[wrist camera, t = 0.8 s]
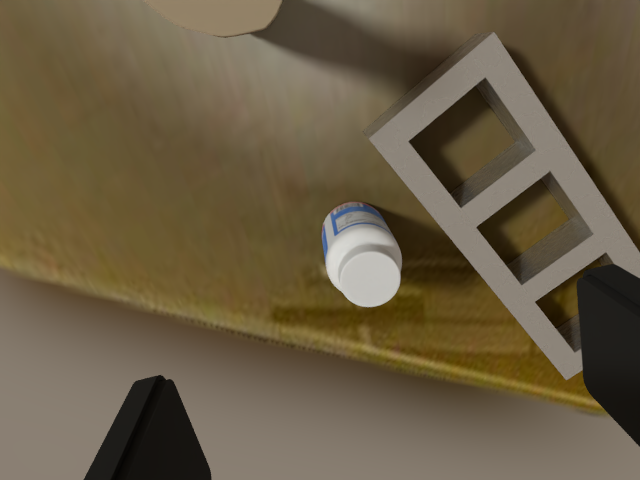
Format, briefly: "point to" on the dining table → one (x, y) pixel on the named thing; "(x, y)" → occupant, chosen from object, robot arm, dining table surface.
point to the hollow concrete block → (508, 190)
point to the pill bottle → (361, 254)
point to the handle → (219, 15)
